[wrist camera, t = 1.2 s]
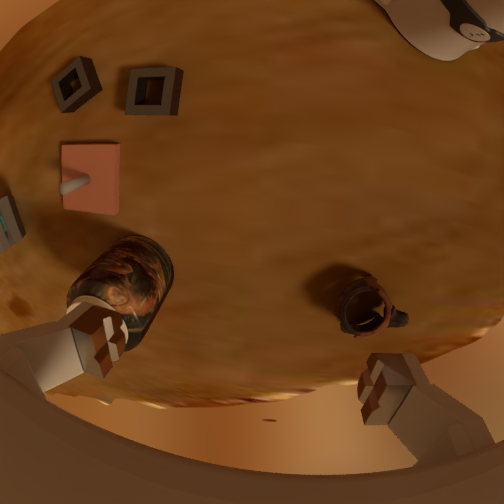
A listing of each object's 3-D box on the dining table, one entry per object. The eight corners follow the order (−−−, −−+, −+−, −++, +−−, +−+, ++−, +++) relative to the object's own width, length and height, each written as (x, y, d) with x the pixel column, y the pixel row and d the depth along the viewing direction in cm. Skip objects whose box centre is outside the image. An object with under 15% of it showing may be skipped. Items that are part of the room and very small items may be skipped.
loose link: (63, 82, 28) (51, 81, 26) (91, 58, 27) (79, 55, 24) (73, 112, 31) (61, 113, 28) (102, 89, 29) (90, 88, 27)
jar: (170, 308, 44) (138, 377, 30) (108, 289, 43) (63, 346, 30) (178, 245, 39) (136, 308, 25) (108, 226, 38) (48, 275, 25)
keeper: (67, 144, 33) (37, 151, 26) (120, 143, 33) (92, 149, 26) (69, 206, 37) (42, 221, 31) (119, 212, 37) (94, 230, 31)
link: (140, 72, 28) (130, 69, 26) (183, 71, 28) (176, 66, 26) (135, 114, 31) (124, 114, 28) (177, 115, 31) (169, 115, 28)
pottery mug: (330, 327, 44) (329, 340, 36) (339, 271, 44) (340, 273, 36) (398, 335, 41) (409, 349, 33) (407, 280, 41) (422, 283, 33)
